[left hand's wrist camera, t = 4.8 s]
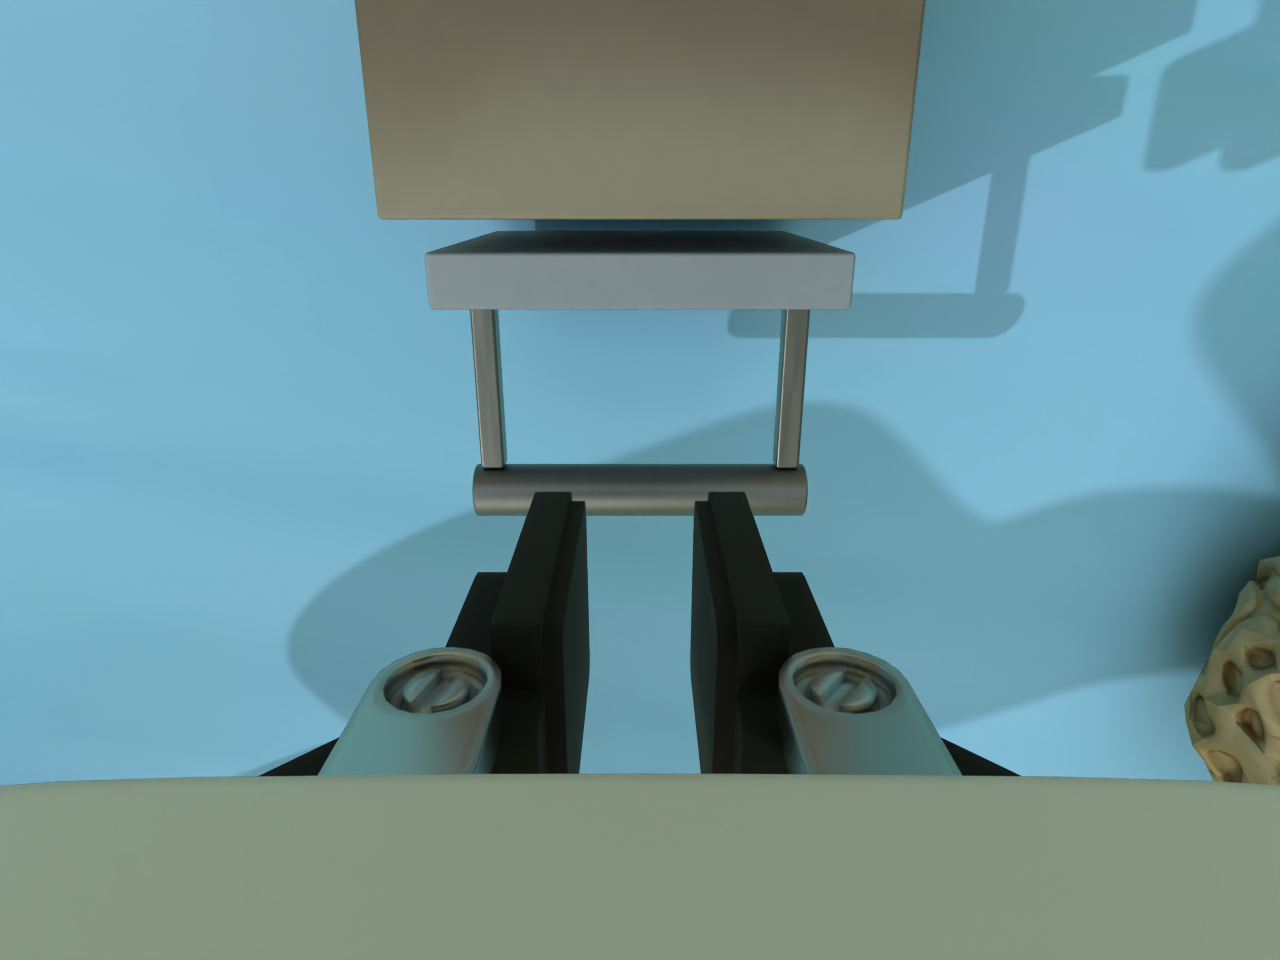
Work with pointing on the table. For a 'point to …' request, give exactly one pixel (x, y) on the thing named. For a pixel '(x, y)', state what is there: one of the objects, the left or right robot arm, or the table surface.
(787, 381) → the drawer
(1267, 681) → the teapot
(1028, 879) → the left robot arm
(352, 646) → the table surface
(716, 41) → the cabinet
